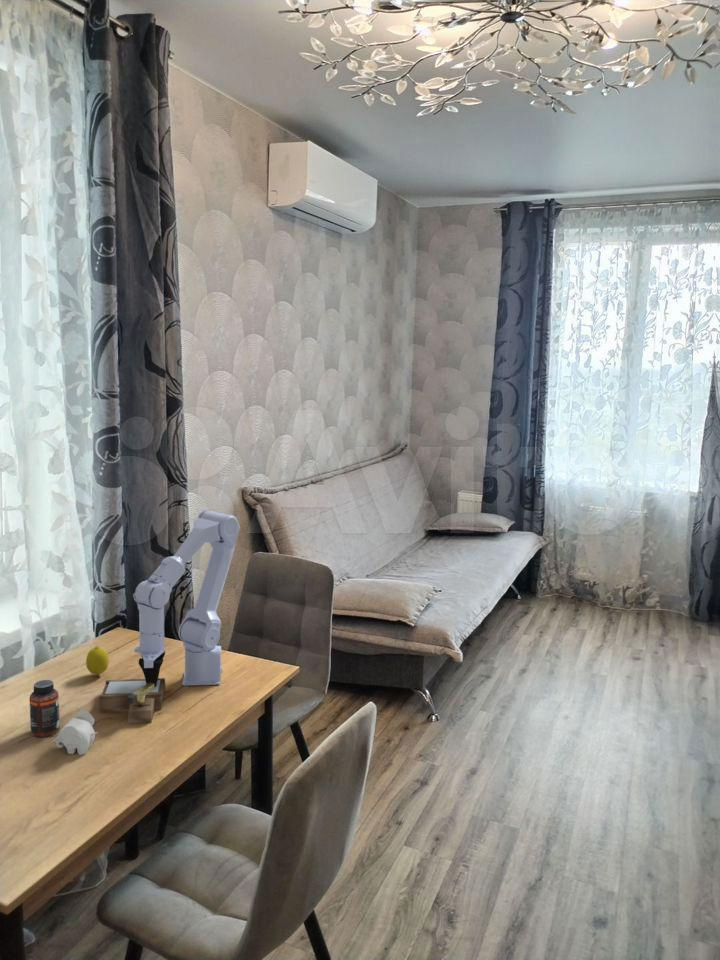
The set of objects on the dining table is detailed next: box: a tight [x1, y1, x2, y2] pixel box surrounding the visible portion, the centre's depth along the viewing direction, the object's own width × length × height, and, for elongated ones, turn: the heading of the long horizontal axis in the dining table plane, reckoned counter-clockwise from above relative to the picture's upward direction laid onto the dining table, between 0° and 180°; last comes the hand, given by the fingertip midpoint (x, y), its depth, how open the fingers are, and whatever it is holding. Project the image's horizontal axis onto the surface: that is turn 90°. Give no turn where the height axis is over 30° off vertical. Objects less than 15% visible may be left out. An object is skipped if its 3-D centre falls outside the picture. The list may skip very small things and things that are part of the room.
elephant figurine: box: [49, 710, 98, 756], centre depth 155 cm, size 8×10×7 cm
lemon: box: [85, 646, 110, 677], centre depth 190 cm, size 6×6×8 cm
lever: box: [127, 683, 154, 706], centre depth 169 cm, size 8×2×4 cm, turn 160°
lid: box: [105, 680, 160, 695], centre depth 177 cm, size 12×6×4 cm, turn 99°
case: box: [98, 677, 166, 724], centre depth 175 cm, size 14×16×4 cm
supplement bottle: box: [29, 679, 61, 738], centre depth 162 cm, size 6×6×11 cm
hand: (152, 683), depth 178 cm, fingers closed on lid, 2 cm apart
